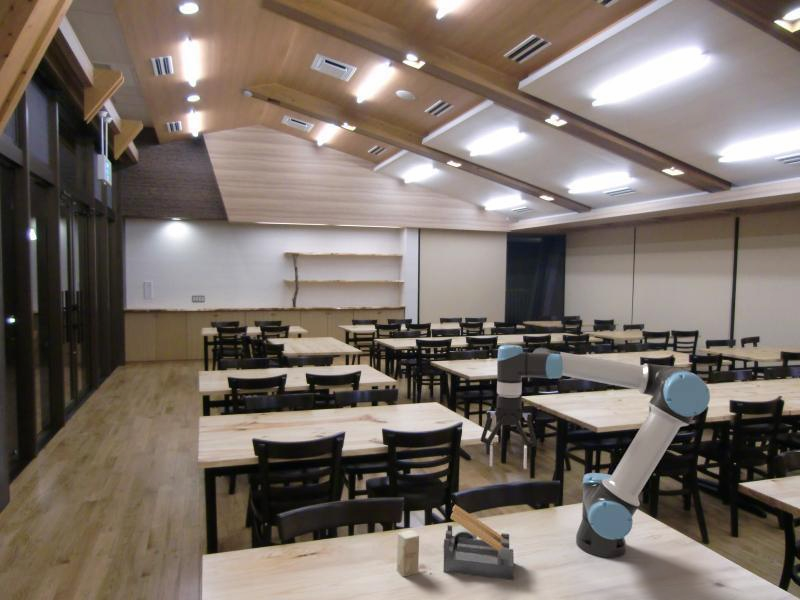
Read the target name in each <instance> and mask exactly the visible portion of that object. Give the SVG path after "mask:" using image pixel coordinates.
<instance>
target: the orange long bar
mask: <svg viewBox="0 0 800 600" xmlns="http://www.w3.org/2000/svg"><path fill="white" fill-rule="evenodd" d="M451 511H452V513H453V512H455V513H456V514H458V515H459V516H461V517H462V518H464V519H465V520H466V521H468V522H469V523H471V524H472V525H474V526H475V527H477V528H478V529H480V530H481V531H483V532H484V533H486V534H487V535H489V536H490V537H492V538H493V539H495V540H496V541H498V542H499V543H500V544H501V539H507V538H505V537H503V536H501V533H498V532H497V531H495V530H494V529H492V528H491V527H489V526H488V525H486V524H485V523H484V522H482V521H480V520H479V519H477V518H476V517H475V516H473V515H472V514H470V513H469V512H467V511H466V510H465V509H462V508H461V507H460V506H458V505H457V504H454V506H452V510H451ZM507 540H508V539H507Z"/></svg>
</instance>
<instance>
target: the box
mask: <svg viewBox="0 0 800 600" xmlns="http://www.w3.org/2000/svg"><path fill="white" fill-rule="evenodd" d="M419 552H420V535H419V534H418V533H417V532H416V531H414V530H413V529H411V530H405V531H401V532H398V533H397V553H396V554H397V556H396V570H397V572H398V573H399V574H400V575H401V576H402V577H408V576H412V575H416V574H419V554H420V553H419Z"/></svg>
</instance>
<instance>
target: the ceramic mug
mask: <svg viewBox="0 0 800 600" xmlns="http://www.w3.org/2000/svg"><path fill="white" fill-rule="evenodd" d="M453 536H455V543H459V537H463V538H472V539H478V537H477V536H476V535H474V534H473V533H471V532H470V531H468V530H467V529H465V528H464V527H463V526H461V525H460V524H458V526H457V527H456V528H455V529H454V531H453ZM442 547H443V548H444V542H443V544H442Z"/></svg>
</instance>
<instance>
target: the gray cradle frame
mask: <svg viewBox="0 0 800 600" xmlns="http://www.w3.org/2000/svg"><path fill="white" fill-rule="evenodd" d="M500 535H501V536H503V537H505V538H507V539H508V540H507V539H501V543H500V544H502V545H503V546H507V547H508V548H501V552H499V551H498V550H496V549H495V548H493V547H492V546H490V545H489V544H487V543H486V542H485V541H483V540H482V539H480V538H477V539H472V538H463V537H459V543H455V547H454V552H453V557H452V559H446V558H444V557H443V572H444V573H451V574H457V575H467V576H474V577H476V576H477V577H484V578H491V579H492V578H493V579H500V580H508V581H509V580H510V581H514V579H515V578H514V575H515V572H514V571H515V567H514V566H515V563H514V557H515V556H514V549H513V548H512V549H511V548H510V533H504V532H501V533H500ZM497 542H498V541H497Z"/></svg>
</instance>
